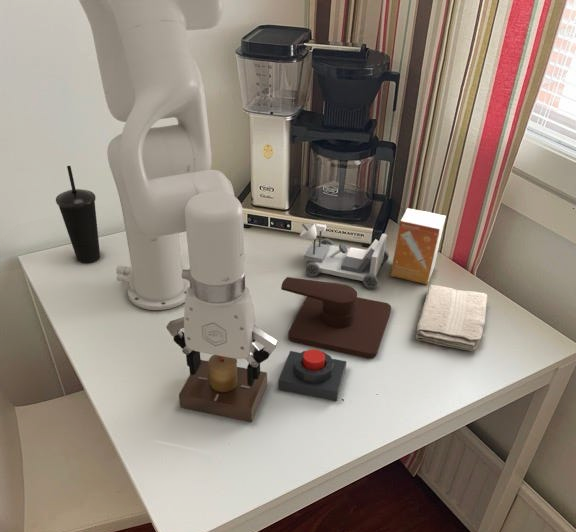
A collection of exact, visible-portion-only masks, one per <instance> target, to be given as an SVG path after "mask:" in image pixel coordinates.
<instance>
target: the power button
mask: <svg viewBox="0 0 576 532" xmlns="http://www.w3.org/2000/svg"><path fill="white" fill-rule="evenodd" d="M305 351H306V352H305V353H304V355H303V366H304V367H305V368H306V369H308V370H312V371H317V370H321V369H322V368H323V367H324V364H325V354H324V353H325V352H324V351H323V352H324V353H323V352H322V350H319V349H318V348H316V349H315V348H310V349H308V350H305Z"/></svg>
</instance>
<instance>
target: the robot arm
mask: <svg viewBox="0 0 576 532" xmlns="http://www.w3.org/2000/svg"><path fill="white" fill-rule="evenodd" d="M78 1H79V3H80V6H81V8H82V9H83V11H84V14H85V15H86V18H87V20H88V23H89V26H90V29H91V33H92V37H93V42H94V48H95V55H96V58H97V64H98V70H99V74H100V78H101V83H102V89H103V94H104V98H105V102H106V105H107V108H108V111H109V112H110V114H111V115H112V117H113V118H114V119H115V120H116V121H119V122H121V123H124V126H123V129H122V132H121V133H120V134H118V135H116V136H115V137H113V138H112V139H111V140H110V141H109V143H108V145H107V150H106V155H107V161H108V165H109V166H108V167H109V169H110V171H111V174H112V178H113V181H114V184H115V186H116V190H117V193H118V198H119V202H120V207H121V213H122V218H123V224H124V228H125V235H126V242H127V247H128V253H129V259H130V260H129V261H130V264H131V266H130V267H129V266H126V265H121V264H117V266H116V269H115V273H116V274H117V275H116V281H118V282H123V283H127V284H129V285H128V287H127V296H128V299H129V301H130V302H131V304H134V305H135V306H137V307H138V308H141V309H144V310H150V311H165V310H170V309H175V308H176V307H178V306H182V305H183V304H184V307H183V308H184V309H183V310H184V311H183V316H182V317H179V318H176V319H173V320H170V321H169V322H168V324H167V325H166V326H165V327H166V330H167V331H168V333H169V334H170V336H171V337H172V338H173V339H172V340H173V342H174V343H175V344H177V345H178V346H179V347H180V349H182V350H181V352H182V354H183V355H185V359H186V366H187V367H188V369H189V375H190V374H191V375H194V374H195V373H196V372H197V370H198V368H199V366H200V365H201V360H202V358H201V353H202V354H208V355H212V356H213V355H218V356H224V357H229V358H235V359H237V360H243V359H245V361H247V363H248V364H247V367H246V369H247V384H248V385H249V386H252V385H253V383H254V381H255V379H258V378H259V376H260V371H261V363H263V362H265V361H266V360H268V359H269V357H271V355H272V354H273V352H274V351H275V349H276V348H277V346H278V343H279V341H278V339H275V338H274V337H273V336H271V335H269V334H268V333H266V332H264V331H263V330H261V329H260V328H258V327H257V324H256V322H257V321H256V315H255V308H254V303H253V299H252V294H251V291H250V289H249V287H247V286H246V267H245V266H246V263H245V227H244V225H245V224H244V223H245V221H244V208H243V205H242V203H241V201H240V200H239V199H238V198H237V197H236V196H235V191H234V187H233V184H232V182H231V181H230V179H228V178H227V176H226V175H225V174H224V173H223V172H222V171H220V170H217V169H212V161H213V159H212V145H211V135H210V128H209V127H210V126H209V118H208V110H207V100H206V91H205V86H204V81H203V76H202V73H201V70H200V68H199V66H198V64H197V62H196V61H195V59H194V58H193V55H192V51H191V47H190V42H189V39H188V34H187V31H198V30H200V31H201V30H209V29H212V28H215V27H216V26H218V24H219V23H220V22H221V20H222V17H223V13H224V0H78ZM171 118H175V119H176V120H177V124H173V125H163V126H159V127H158V126H157V127H153V126H154V125H155V124H156V123H157V122H158V121H159V120H165V119H171ZM181 233H186V242H187V253H188V263H189V264H188V265H189V269H185V268H184V269H183V263H182V253H181V243H180V234H181ZM182 329H183V331H182ZM255 342H257V343H259V344H261V345H262V346H263V348H261V349H260V348H259V346H257V344H256V343H255Z"/></svg>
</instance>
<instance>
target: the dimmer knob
mask: <svg viewBox="0 0 576 532" xmlns="http://www.w3.org/2000/svg"><path fill="white" fill-rule="evenodd" d="M208 361H209V374H210V385H211V387H212V388H213V389H214V390H216V391H219V392H228V391H231V390H233V389H234V388H235V387H236V386H237V383H238V379H237V367H238V359H235V358H229V357H224V356H218V355H213V354H212V355H211V356H210V357H209V359H208Z"/></svg>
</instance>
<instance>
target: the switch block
mask: <svg viewBox="0 0 576 532" xmlns="http://www.w3.org/2000/svg"><path fill="white" fill-rule="evenodd" d="M306 351H307V350H303V351H301V352H299V351H293V350H290V351H289V353H288V355H287V358H286V360H285V363H284V365H283V368H282V370H281V372H280V375H279V378H278V381H277V389H278V390H279V391H283V392H288V393H293V394H298V395H303V396H309V397H313V398H319V399H324V400H330V401H333V402H334V401H335V402H338V399H339V398H338V397H339V395H340V392H341V388H342V385H343V381H344V377H345V374H346V369H347V360H342V359H337V358H332V356H331V355H329V354H328V353H326V352H324V351H322V350H321V351H322V352H323V353H324V354H325V364H324V367H323V368H322V369H321V370H317V371H312V370H308V369H306V368H305V367H304V366H303V355H304V353H305V352H306Z"/></svg>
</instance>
